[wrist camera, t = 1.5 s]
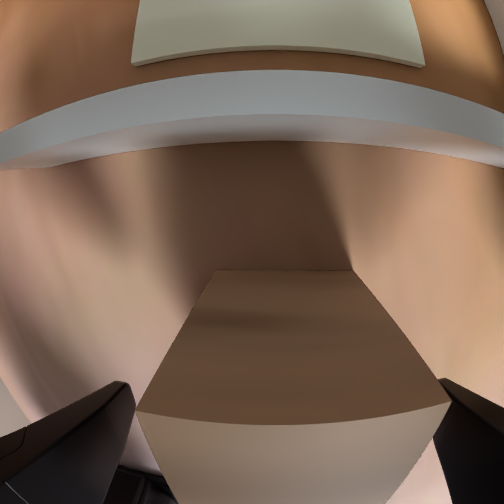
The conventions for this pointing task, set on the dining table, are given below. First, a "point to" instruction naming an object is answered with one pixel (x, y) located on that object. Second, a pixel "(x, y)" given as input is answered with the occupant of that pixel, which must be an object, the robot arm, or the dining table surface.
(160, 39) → the plate
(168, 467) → the walnut block
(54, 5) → the dining table surface
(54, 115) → the plastic wall
